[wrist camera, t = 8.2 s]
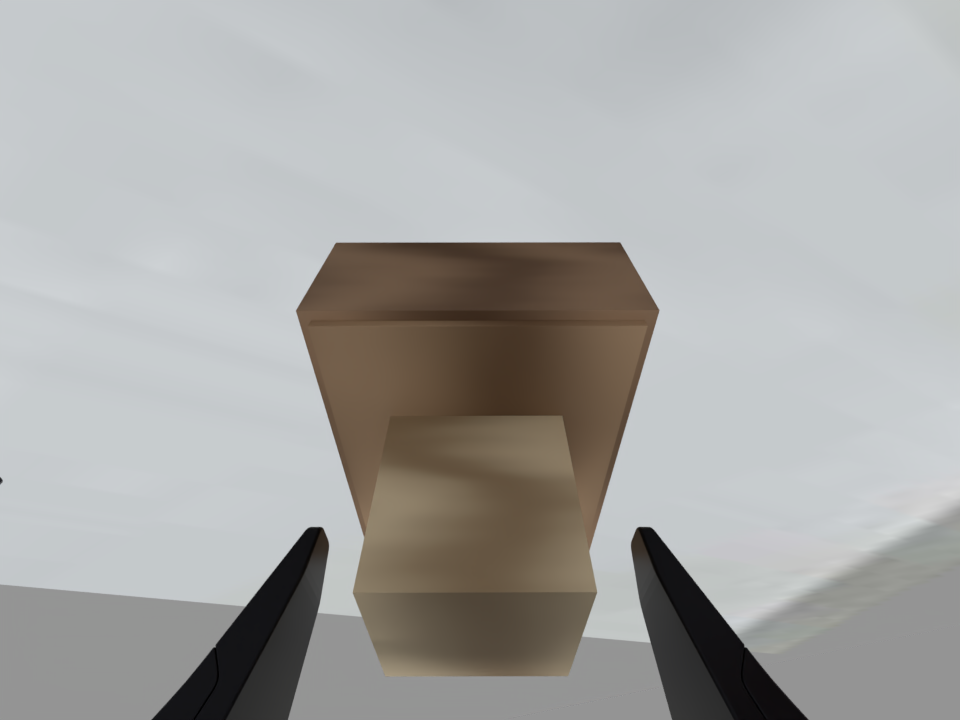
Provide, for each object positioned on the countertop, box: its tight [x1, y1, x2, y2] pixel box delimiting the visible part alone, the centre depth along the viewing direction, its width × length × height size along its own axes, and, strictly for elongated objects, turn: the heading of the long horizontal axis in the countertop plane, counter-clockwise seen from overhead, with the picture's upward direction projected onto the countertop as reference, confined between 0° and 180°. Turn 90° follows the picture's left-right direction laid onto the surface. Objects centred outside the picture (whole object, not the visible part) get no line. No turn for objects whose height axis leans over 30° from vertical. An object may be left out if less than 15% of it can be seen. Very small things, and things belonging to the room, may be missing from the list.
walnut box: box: [296, 242, 660, 551], centre depth 16 cm, size 9×12×4 cm
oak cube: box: [353, 416, 597, 677], centre depth 13 cm, size 5×5×5 cm
